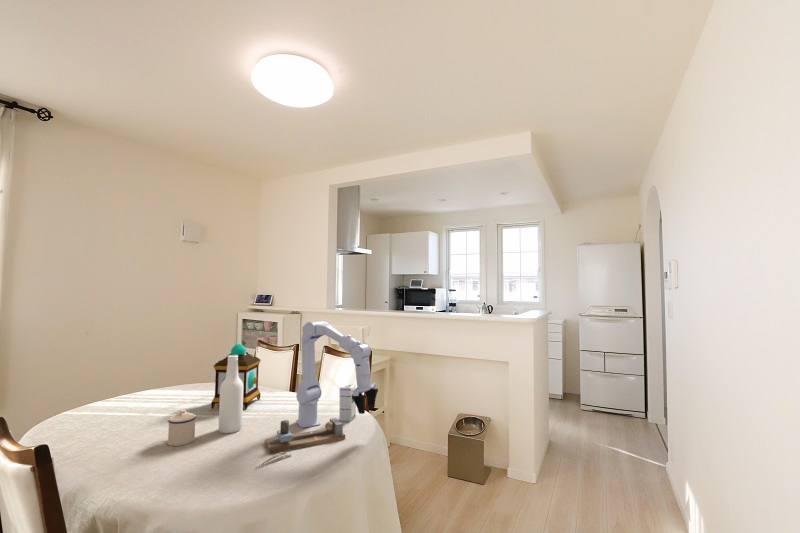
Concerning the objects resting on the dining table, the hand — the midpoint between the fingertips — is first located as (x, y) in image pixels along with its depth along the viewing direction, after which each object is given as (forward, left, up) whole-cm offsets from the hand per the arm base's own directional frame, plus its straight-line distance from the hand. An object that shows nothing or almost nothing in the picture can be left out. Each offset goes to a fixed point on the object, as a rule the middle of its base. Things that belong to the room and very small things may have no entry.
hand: (367, 410), depth 147 cm
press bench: (-8, -22, -11) cm, 25 cm away
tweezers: (+4, -38, -11) cm, 40 cm away
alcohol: (-34, -46, -11) cm, 58 cm away
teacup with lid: (-31, -64, -11) cm, 72 cm away
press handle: (-8, -30, -8) cm, 32 cm away
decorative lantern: (-70, -40, -11) cm, 81 cm away
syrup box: (-24, +1, -11) cm, 27 cm away
